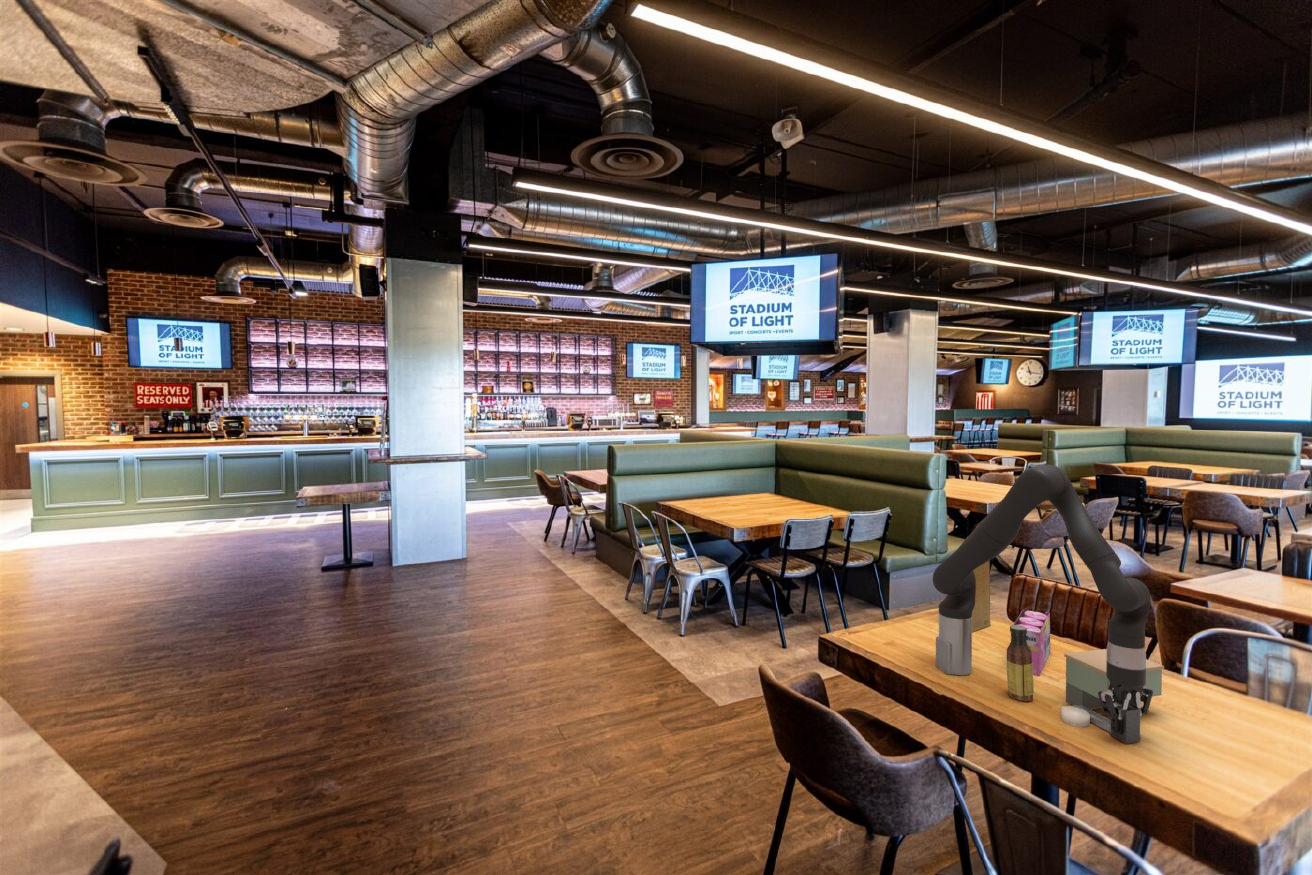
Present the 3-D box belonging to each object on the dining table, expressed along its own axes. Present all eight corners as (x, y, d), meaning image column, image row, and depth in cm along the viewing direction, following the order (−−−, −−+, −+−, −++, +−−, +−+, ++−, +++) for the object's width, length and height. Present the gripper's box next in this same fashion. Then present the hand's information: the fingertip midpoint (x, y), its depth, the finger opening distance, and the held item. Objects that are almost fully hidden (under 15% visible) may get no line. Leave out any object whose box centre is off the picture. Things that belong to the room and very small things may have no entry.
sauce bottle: (1030, 693, 168) (1030, 624, 167) (1036, 703, 162) (1036, 632, 161) (1004, 690, 170) (1004, 622, 169) (1009, 700, 164) (1009, 629, 163)
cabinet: (1106, 724, 151) (1107, 672, 150) (1063, 701, 163) (1064, 653, 163) (1163, 716, 154) (1164, 666, 154) (1117, 694, 167) (1117, 647, 166)
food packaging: (967, 618, 230) (967, 554, 229) (991, 625, 222) (992, 559, 221) (947, 625, 222) (947, 559, 222) (971, 633, 214) (971, 564, 214)
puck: (1076, 728, 149) (1076, 719, 149) (1055, 717, 155) (1055, 707, 155) (1095, 725, 150) (1095, 716, 150) (1074, 714, 156) (1074, 704, 156)
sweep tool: (1126, 743, 142) (1126, 710, 141) (1070, 713, 156) (1071, 683, 156) (1139, 741, 142) (1140, 708, 142) (1083, 711, 157) (1083, 681, 157)
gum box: (1023, 646, 202) (1024, 607, 201) (1051, 652, 197) (1051, 611, 196) (1009, 670, 184) (1010, 626, 183) (1040, 677, 179) (1040, 632, 178)
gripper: (1116, 671, 138) (1115, 743, 139) (1165, 665, 141) (1164, 736, 142) (1087, 658, 146) (1086, 727, 146) (1134, 653, 148) (1134, 720, 149)
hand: (1125, 731), depth 144 cm, fingers closed on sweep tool, 4 cm apart
